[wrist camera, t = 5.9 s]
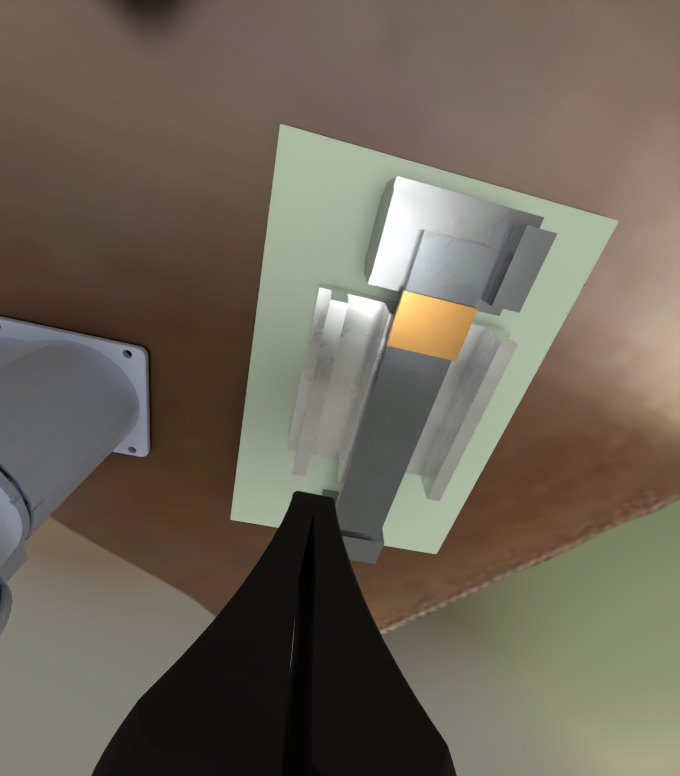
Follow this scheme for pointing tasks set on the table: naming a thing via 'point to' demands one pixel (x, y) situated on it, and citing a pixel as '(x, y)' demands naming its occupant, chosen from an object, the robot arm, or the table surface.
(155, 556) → the table surface
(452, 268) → the bar
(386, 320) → the heat sink
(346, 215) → the pale green board
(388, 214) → the hinge and catch
